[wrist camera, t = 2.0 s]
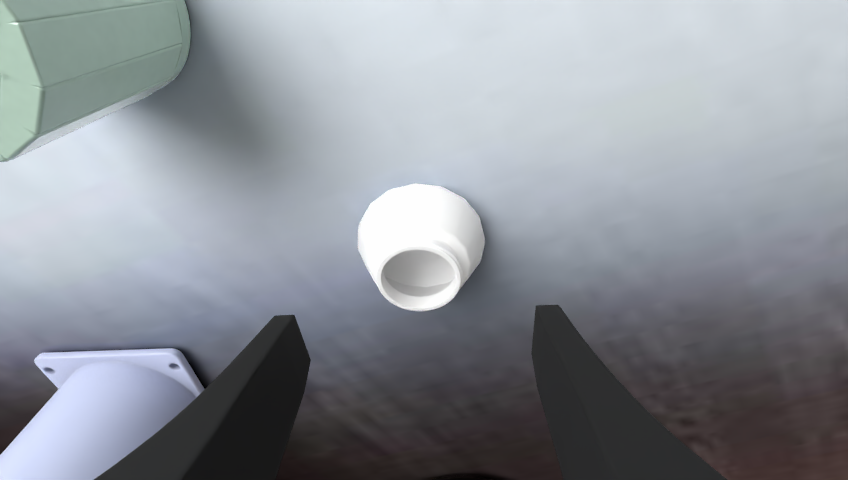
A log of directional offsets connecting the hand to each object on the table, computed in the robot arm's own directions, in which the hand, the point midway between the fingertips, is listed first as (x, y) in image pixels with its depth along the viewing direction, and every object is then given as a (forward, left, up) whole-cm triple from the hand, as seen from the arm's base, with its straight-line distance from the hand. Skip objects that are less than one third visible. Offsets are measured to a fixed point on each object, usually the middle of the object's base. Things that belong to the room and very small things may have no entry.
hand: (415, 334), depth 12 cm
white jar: (0, 0, -6) cm, 6 cm away
